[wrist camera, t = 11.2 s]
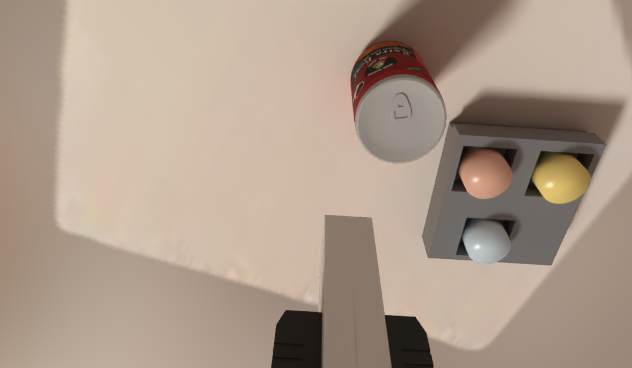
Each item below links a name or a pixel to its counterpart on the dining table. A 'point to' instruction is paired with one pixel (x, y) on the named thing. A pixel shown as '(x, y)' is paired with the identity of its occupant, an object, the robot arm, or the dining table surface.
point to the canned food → (396, 104)
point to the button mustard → (560, 177)
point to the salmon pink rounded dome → (484, 172)
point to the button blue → (485, 240)
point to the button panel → (505, 192)
